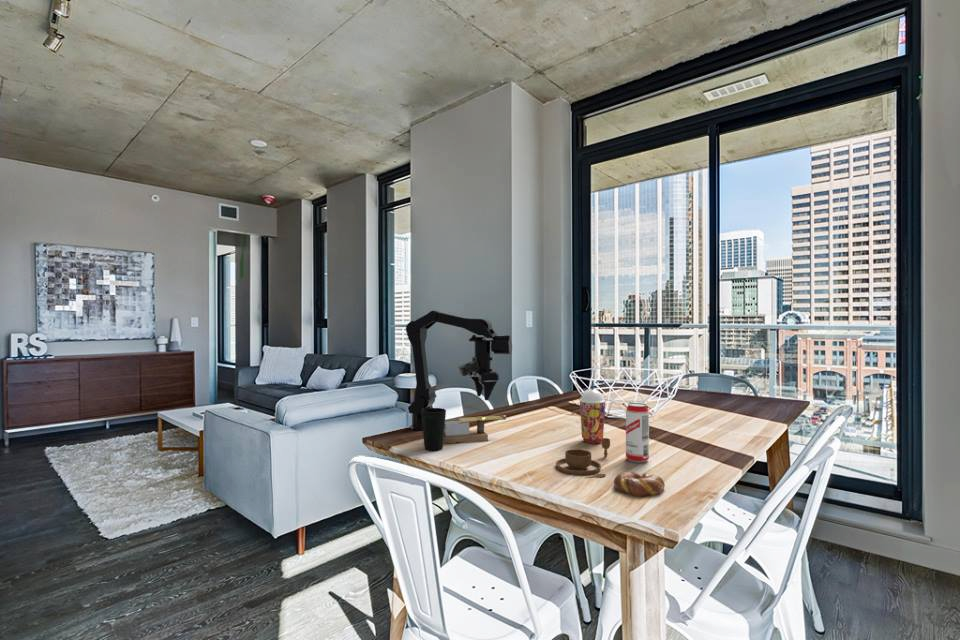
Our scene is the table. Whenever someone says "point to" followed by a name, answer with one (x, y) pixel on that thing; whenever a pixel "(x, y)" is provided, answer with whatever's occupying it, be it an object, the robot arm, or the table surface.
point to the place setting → (582, 461)
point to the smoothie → (592, 415)
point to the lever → (483, 418)
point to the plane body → (472, 437)
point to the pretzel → (639, 483)
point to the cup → (433, 428)
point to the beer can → (637, 432)
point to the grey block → (456, 428)
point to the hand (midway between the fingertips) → (482, 398)
